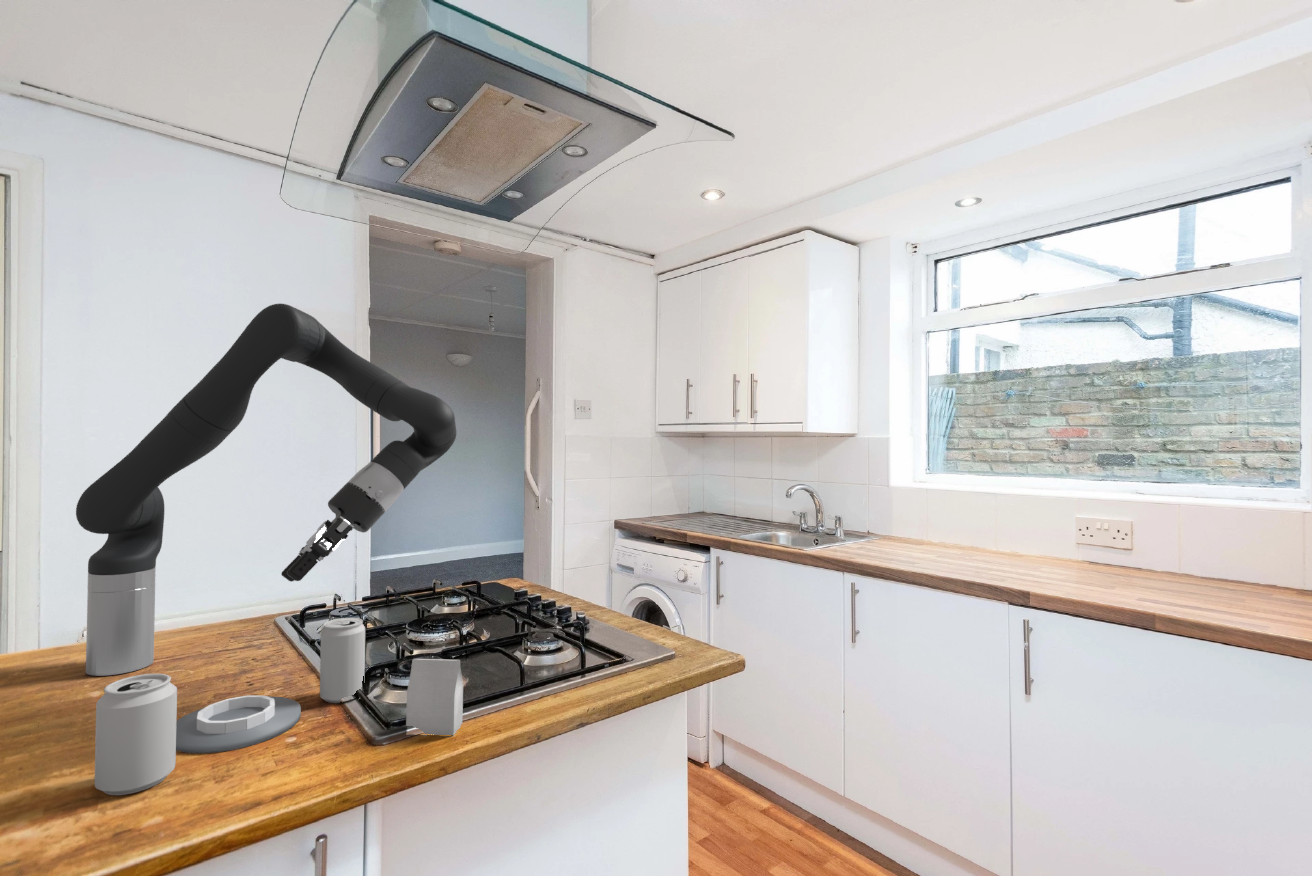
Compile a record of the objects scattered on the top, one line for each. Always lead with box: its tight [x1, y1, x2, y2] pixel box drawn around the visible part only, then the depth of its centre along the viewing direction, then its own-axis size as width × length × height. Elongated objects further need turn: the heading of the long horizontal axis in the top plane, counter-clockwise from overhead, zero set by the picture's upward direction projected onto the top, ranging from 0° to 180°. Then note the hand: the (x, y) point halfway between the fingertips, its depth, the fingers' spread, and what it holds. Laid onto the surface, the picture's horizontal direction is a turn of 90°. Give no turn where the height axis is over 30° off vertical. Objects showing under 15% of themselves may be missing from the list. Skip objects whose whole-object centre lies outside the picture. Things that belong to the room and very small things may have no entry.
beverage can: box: [319, 617, 366, 704], centre depth 102 cm, size 6×6×12 cm
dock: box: [176, 694, 302, 754], centre depth 91 cm, size 16×16×2 cm
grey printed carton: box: [405, 658, 464, 737], centre depth 91 cm, size 4×7×10 cm, turn 89°
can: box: [93, 673, 178, 796], centre depth 76 cm, size 8×8×12 cm
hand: (288, 578), depth 95 cm, fingers open, 8 cm apart
